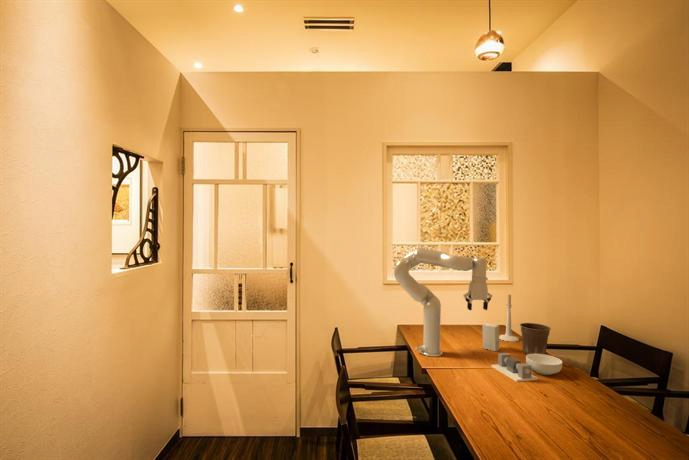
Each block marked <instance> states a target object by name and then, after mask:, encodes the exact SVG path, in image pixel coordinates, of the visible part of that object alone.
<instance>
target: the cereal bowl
mask: <svg viewBox="0 0 689 460" xmlns="http://www.w3.org/2000/svg"><path fill="white" fill-rule="evenodd" d="M525 355H526V356H525V364H529V365H531V371H532V370H533V371H534V372H535V373H537V374H539V375H542V376H550V375H554V374H557V373H559V372H560V371H561V370H562V368H563V360H561V359H560V358H558V357H555V356H552V355H549V354H546V355H545V354H525Z"/></svg>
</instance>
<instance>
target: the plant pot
mask: <svg viewBox="0 0 689 460" xmlns="http://www.w3.org/2000/svg"><path fill="white" fill-rule="evenodd" d="M519 326H520V332H521V343H522V352H523V353H524V354H525V355H528V354H545V355H547V346H548V341H549V336H550V330H551V329H552V327H550V326H548V325H545V324H540V323H536V322H535V323H534V322H522V323H519Z"/></svg>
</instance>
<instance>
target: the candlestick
mask: <svg viewBox="0 0 689 460" xmlns="http://www.w3.org/2000/svg"><path fill="white" fill-rule="evenodd" d="M511 299H512V294H509V293H508V294H507V304H506V308H507V310H506V311H507V312H506V313H507V314H506V325H505V334H499V339H501V340H500V341H502V340H504V341H503V342H506V341H509V342H508V343H517V342H516V341H518V342H520V338H519V337H517V336H516V335H513V334H512V312H511V311H512V310H511V309H512V306H513V304H512V300H511Z"/></svg>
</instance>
